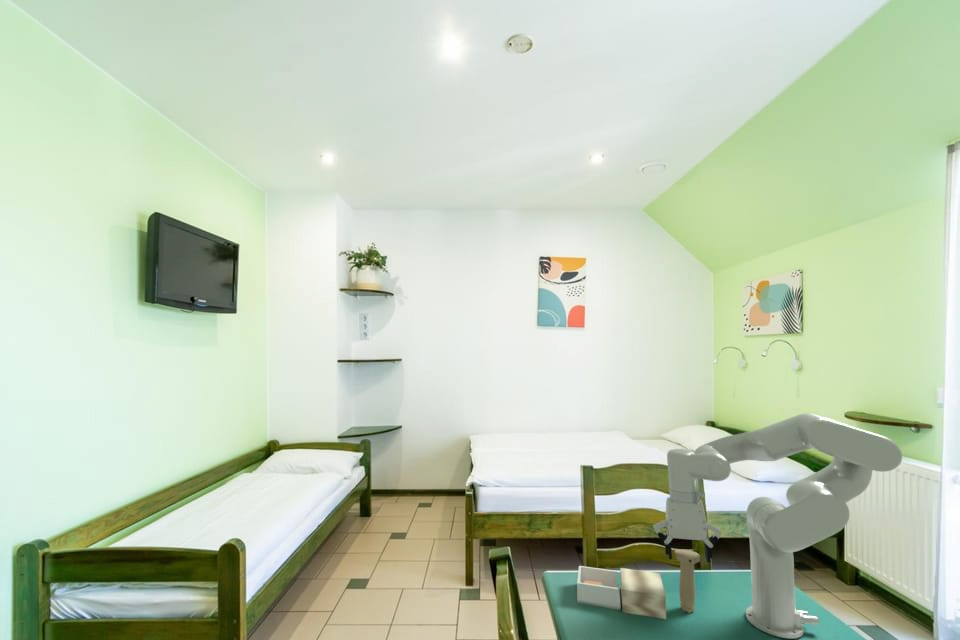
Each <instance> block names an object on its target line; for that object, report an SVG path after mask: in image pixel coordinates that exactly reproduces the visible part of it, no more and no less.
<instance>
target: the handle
mask: <svg viewBox="0 0 960 640" xmlns="http://www.w3.org/2000/svg"><path fill="white" fill-rule="evenodd" d="M673 553H674V558H675V559H676V560H677V561H679V563H680V568H679V569H680V571H679V584H678V585H679V587H678V588H679V590H678V591H679V600H680V608H681V609H682V611H684V612H687V613H688V614H691V613H694V612H695V602H696V582H695V564H697V563H700V561H701V555H700V554H699V553H698V552H696V551H693V550H688V549H675V550H674V552H673Z"/></svg>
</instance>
